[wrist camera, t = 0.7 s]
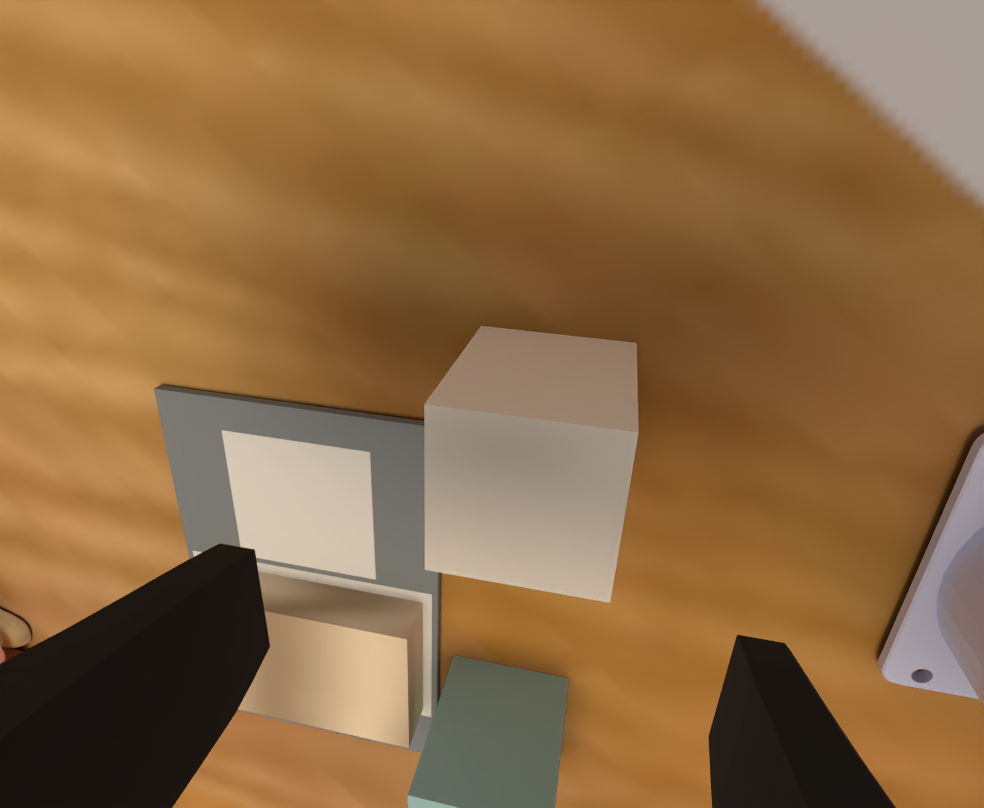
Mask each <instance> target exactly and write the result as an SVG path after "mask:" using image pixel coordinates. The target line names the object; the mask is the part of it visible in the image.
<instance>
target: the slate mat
mask: <svg viewBox="0 0 984 808" xmlns="http://www.w3.org/2000/svg"><path fill="white" fill-rule="evenodd" d="M154 391H155V395H156V400H157V405H158V410H159V415H160V419H161V424H162V429H163V434H164V438H165V443H166V448H167V453H168V457H169V462H170V467H171V472H172V477H173V481H174V486H175V491H176V496H177V500H178V505H179V510H180V515H181V520H182V524H183V529H184V534H185V539H186V543H187V548H188V553H189V558H190V559H191V558H193V557H195V556H196V555H198V554H200V553H202V552H204V551H206V550H208V549H210V548H212V547H214V546H216V545H218V544H219V543H221V544H226V545H232V546H238V547H243V548H249V549H255V554H256V560H257V567H258V572H263V573H268V574H273V575H279V576H284V577H289V578H295V579H300V580H305V581H311V582H316V583H321V584H327V585H332V586H337V587H343V588H348V589H353V590H359V591H364V592H369V593H375V594H380V595H385V596H391V597H396V598H401V599H407V600H412V601H417V602H423V710H422V713H421V716H420V719H419V722H418V724H417V727H416V730H415V733H414V736H413V739H412V741H411V744H410V747H409V748H406V747H401V746H397V745H393V744H388V743H384V742H379V741H375V740H371V739H366V738H362V737H358V736H353V735H349V734H344V733H340V732H336V731H331V730H327V729H323V728H318V727H314V726H309V725H305V724H301V723H296V722H292V721H288V720H283V719H279V718H274V717H270V716H266V715H261V714H257V713H253V712H248V711H244V710H239V709H238V711H243V712H247V713H251V714H256V715H260V716H265V717H269V718H273V719H278V720H282V721H286V722H291V723H295V724H299V725H304V726H308V727H313V728H317V729H321V730H326V731H330V732H334V733H339V734H343V735H348V736H352V737H356V738H361V739H365V740H369V741H374V742H378V743H382V744H387V745H391V746H396V747H400V748H404V749H409V750H413V751H417V752H422V751H423V748H424V745H425V742H426V739H427V736H428V733H429V730H430V726H431V723H432V720H433V717H434V714H435V711H436V708H437V705H438V702H439V670H440V587H441V573H440V572H434V571H429V570H425V470H424V421H421V420H413V419H406V418H399V417H391V416H384V415H377V414H369V413H362V412H355V411H348V410H340V409H333V408H326V407H318V406H311V405H304V404H296V403H289V402H282V401H275V400H267V399H260V398H253V397H245V396H238V395H231V394H223V393H216V392H209V391H202V390H194V389H187V388H180V387H172V386H165V385H160V386H158V387H156V388H154Z"/></svg>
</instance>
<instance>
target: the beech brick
mask: <svg viewBox="0 0 984 808" xmlns="http://www.w3.org/2000/svg"><path fill="white" fill-rule="evenodd" d="M258 573H259V579H260V585H261V592H262V598H263V604H264V611H265V617H266V623H267V629H268V636H269V642H270V648H269V650H268V652H267V654H266V656H265V658H264V660H263V662H262V664H261V666H260V668H259V670H258V672H257V674H256V676H255V678H254V680H253V682H252V684H251V686H250V687H249V689H248V691H247V693H246V695H245V697H244V699H243V701H242V702H241V704H240V706H239V708H238V709H239V710H244V711H248V712H253V713H257V714H261V715H266V716H270V717H274V718H279V719H283V720H288V721H292V722H296V723H301V724H305V725H309V726H314V727H318V728H323V729H327V730H331V731H336V732H340V733H344V734H349V735H353V736H358V737H362V738H366V739H371V740H375V741H379V742H384V743H388V744H393V745H397V746H401V747H406V748H409V747H410V744H411V741H412V739H413V736H414V733H415V730H416V727H417V724H418V722H419V719H420V716H421V713H422V710H423V602H417V601H412V600H407V599H401V598H396V597H391V596H385V595H380V594H375V593H369V592H364V591H359V590H353V589H348V588H343V587H337V586H332V585H327V584H321V583H316V582H311V581H305V580H300V579H295V578H289V577H284V576H279V575H273V574H268V573H263V572H258Z"/></svg>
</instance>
